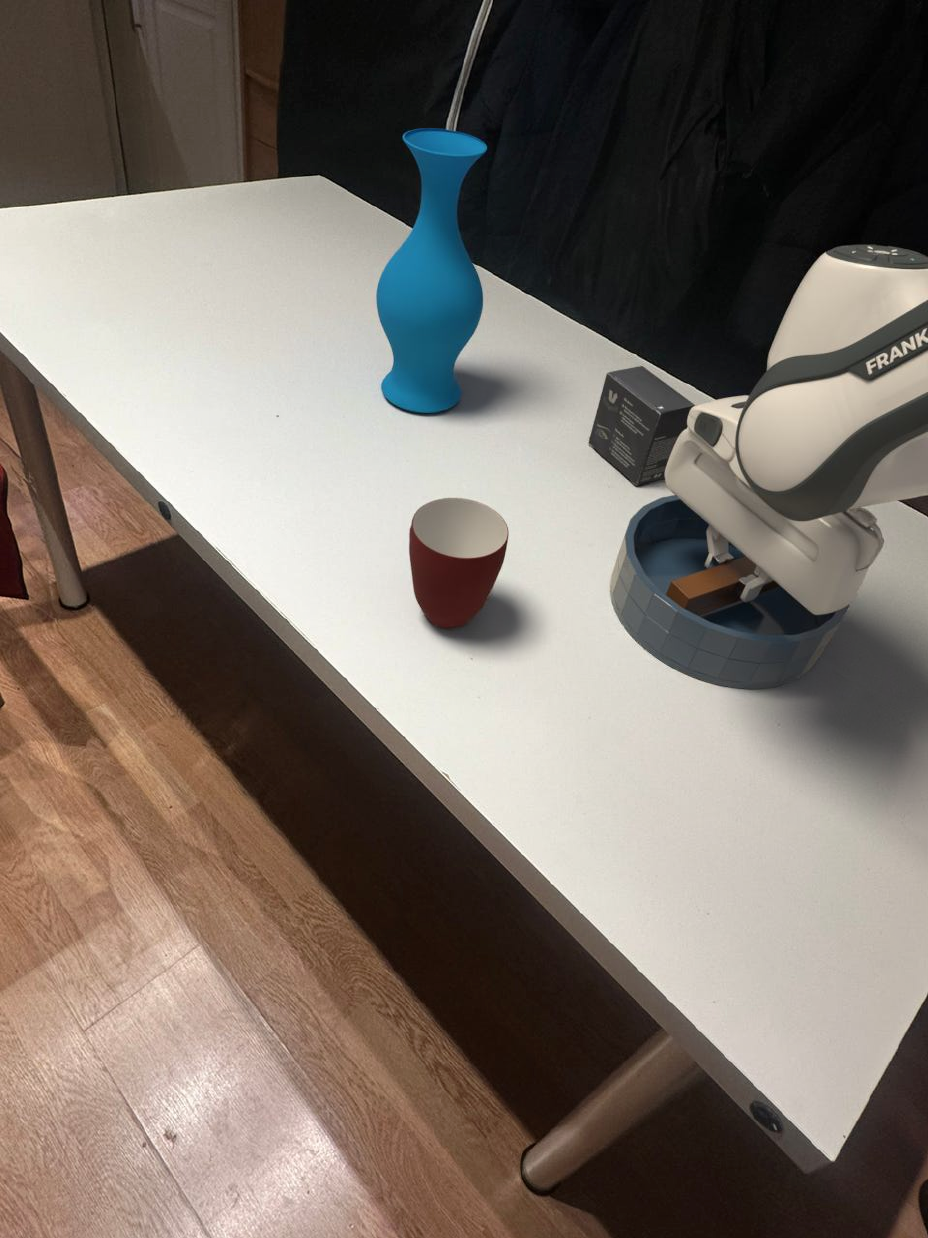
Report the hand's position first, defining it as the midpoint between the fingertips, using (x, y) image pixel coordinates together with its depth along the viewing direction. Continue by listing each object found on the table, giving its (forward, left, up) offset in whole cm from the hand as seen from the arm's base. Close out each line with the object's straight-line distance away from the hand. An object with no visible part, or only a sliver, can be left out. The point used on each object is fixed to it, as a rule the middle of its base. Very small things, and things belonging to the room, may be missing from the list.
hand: (729, 582), depth 75 cm
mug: (+20, +17, -5) cm, 27 cm away
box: (+18, -18, -5) cm, 26 cm away
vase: (+44, -12, -5) cm, 46 cm away
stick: (0, 0, -2) cm, 2 cm away
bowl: (0, -1, -4) cm, 5 cm away
